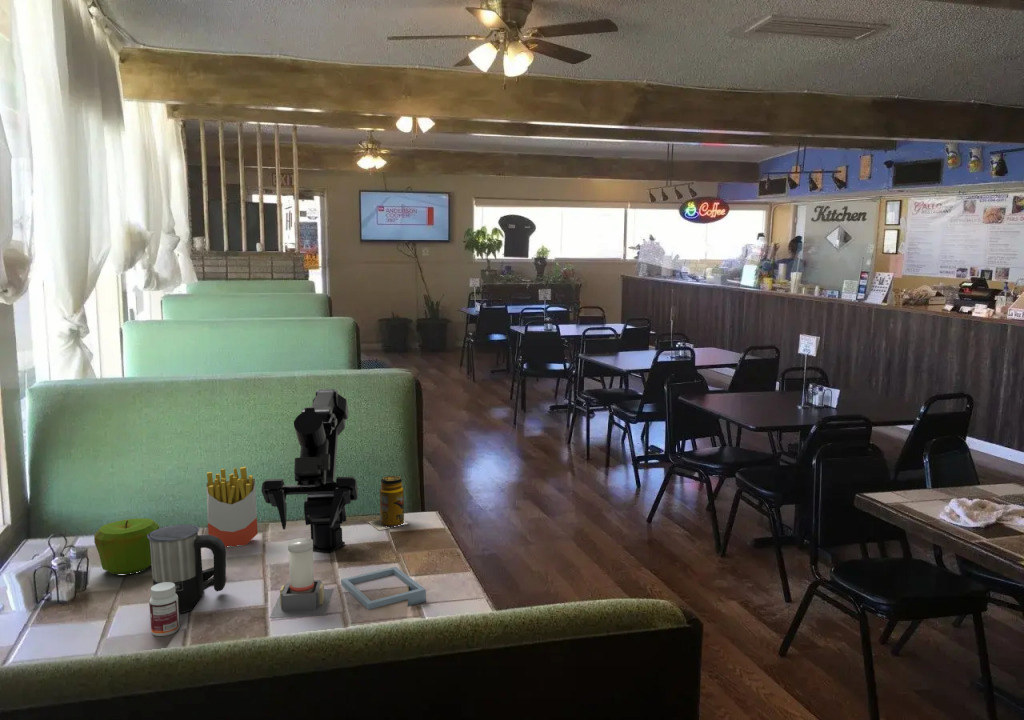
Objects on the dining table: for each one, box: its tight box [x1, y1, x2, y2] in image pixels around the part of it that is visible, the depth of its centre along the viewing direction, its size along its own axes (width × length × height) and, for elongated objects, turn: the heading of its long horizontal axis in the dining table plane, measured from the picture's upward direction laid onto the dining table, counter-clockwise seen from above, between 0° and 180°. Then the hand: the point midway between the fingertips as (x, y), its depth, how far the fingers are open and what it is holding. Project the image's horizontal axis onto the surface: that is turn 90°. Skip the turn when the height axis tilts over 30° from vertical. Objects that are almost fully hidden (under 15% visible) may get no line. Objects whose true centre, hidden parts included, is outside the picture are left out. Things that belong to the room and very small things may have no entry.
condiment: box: [368, 475, 405, 531], centre depth 197 cm, size 7×8×12 cm
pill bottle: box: [148, 582, 181, 637], centre depth 139 cm, size 5×5×8 cm
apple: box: [93, 517, 160, 575], centre depth 167 cm, size 12×12×11 cm
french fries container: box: [205, 466, 258, 548], centre depth 183 cm, size 5×11×18 cm, turn 109°
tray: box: [340, 566, 427, 610], centre depth 153 cm, size 14×12×2 cm
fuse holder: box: [269, 579, 334, 619], centre depth 147 cm, size 12×10×5 cm
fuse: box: [287, 537, 315, 594], centre depth 147 cm, size 5×5×12 cm
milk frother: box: [147, 524, 227, 614], centre depth 153 cm, size 14×16×15 cm
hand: (307, 527), depth 154 cm, fingers open, 9 cm apart
